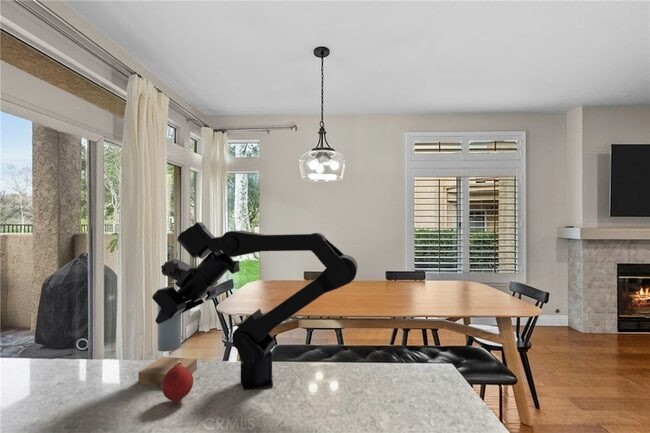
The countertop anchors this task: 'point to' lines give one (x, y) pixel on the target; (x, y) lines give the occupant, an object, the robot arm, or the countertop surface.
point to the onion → (177, 382)
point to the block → (163, 369)
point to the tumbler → (169, 334)
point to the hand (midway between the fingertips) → (164, 319)
